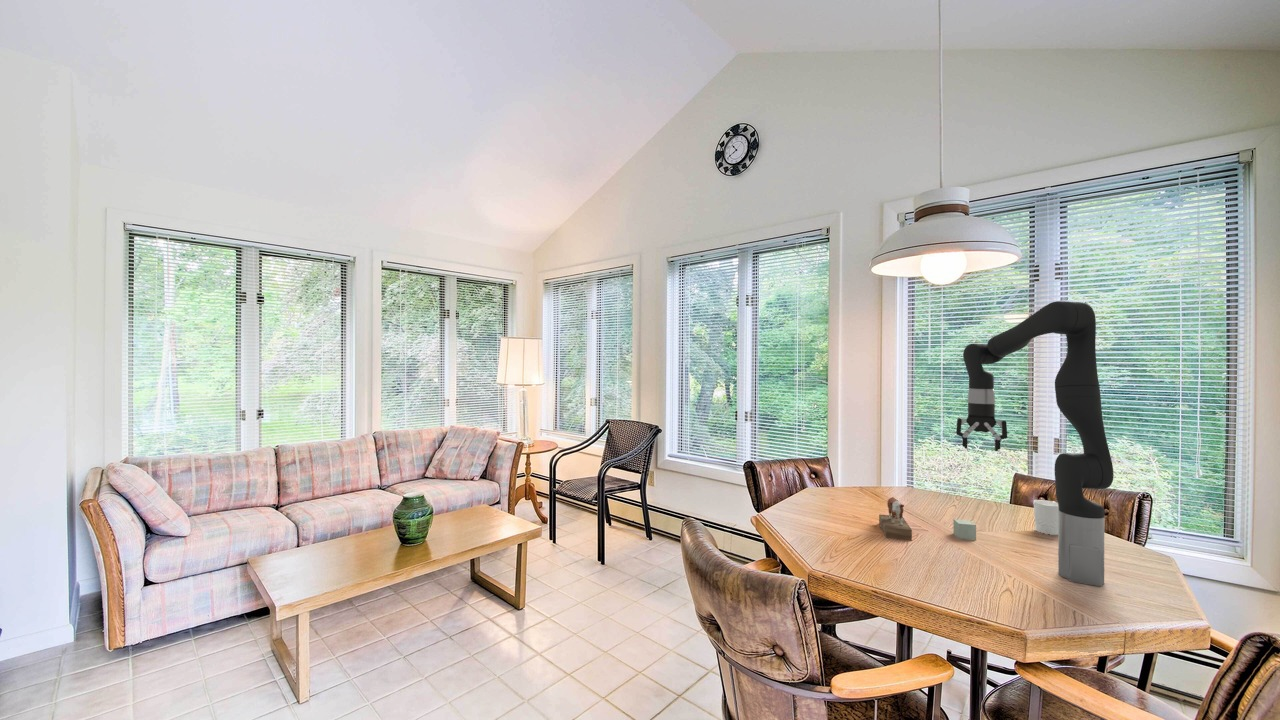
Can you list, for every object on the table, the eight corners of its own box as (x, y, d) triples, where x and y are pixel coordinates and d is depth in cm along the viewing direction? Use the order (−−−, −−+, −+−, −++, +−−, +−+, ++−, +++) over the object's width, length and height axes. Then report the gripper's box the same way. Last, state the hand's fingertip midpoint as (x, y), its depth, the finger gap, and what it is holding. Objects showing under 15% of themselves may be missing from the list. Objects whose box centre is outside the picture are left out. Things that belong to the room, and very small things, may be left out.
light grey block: (1028, 530, 172) (1028, 501, 172) (1041, 527, 175) (1041, 498, 175) (1055, 537, 164) (1055, 507, 165) (1068, 534, 168) (1068, 504, 168)
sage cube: (976, 540, 161) (976, 525, 161) (958, 538, 162) (958, 523, 163) (970, 535, 166) (970, 520, 166) (953, 533, 167) (953, 519, 167)
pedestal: (911, 542, 160) (911, 529, 160) (886, 539, 162) (886, 527, 162) (902, 527, 174) (902, 516, 174) (879, 525, 177) (879, 514, 177)
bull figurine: (890, 527, 162) (890, 502, 162) (886, 516, 175) (886, 492, 175) (905, 529, 161) (905, 504, 161) (900, 517, 173) (900, 494, 173)
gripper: (956, 401, 169) (956, 449, 169) (1008, 403, 162) (1008, 453, 162) (955, 400, 176) (955, 446, 176) (1005, 402, 169) (1005, 450, 169)
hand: (981, 449), depth 169 cm, fingers open, 8 cm apart
